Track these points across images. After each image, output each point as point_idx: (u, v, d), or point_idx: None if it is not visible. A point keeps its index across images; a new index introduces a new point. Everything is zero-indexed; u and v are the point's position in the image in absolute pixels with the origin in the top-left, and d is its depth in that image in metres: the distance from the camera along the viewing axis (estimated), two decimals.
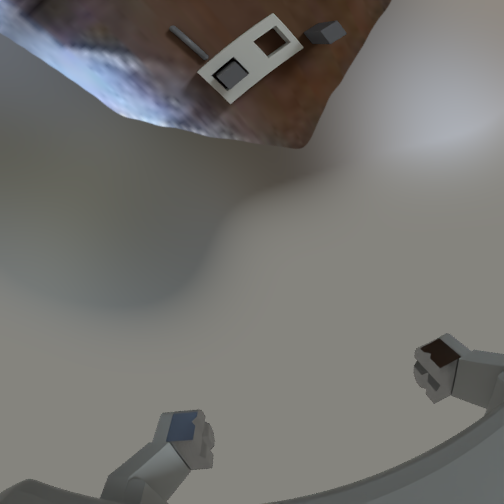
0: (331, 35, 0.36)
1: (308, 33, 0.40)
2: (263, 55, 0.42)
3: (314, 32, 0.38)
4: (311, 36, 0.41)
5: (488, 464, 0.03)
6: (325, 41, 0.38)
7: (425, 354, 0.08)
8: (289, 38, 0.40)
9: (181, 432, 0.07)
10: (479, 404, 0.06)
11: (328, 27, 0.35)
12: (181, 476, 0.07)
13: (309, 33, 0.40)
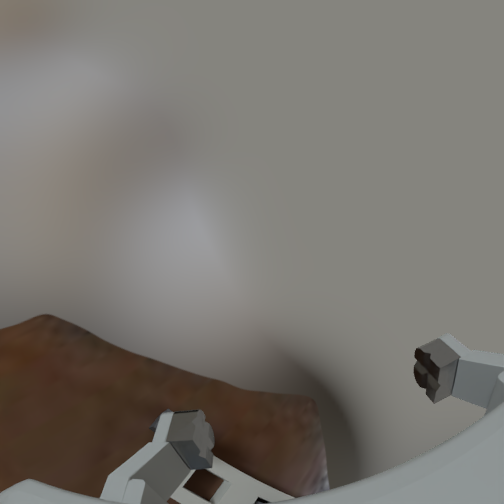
0: None
1: None
2: (230, 490, 0.28)
3: None
4: None
5: (488, 464, 0.03)
6: None
7: (425, 354, 0.08)
8: None
9: (181, 432, 0.07)
10: (479, 404, 0.06)
11: None
12: (181, 476, 0.07)
13: None
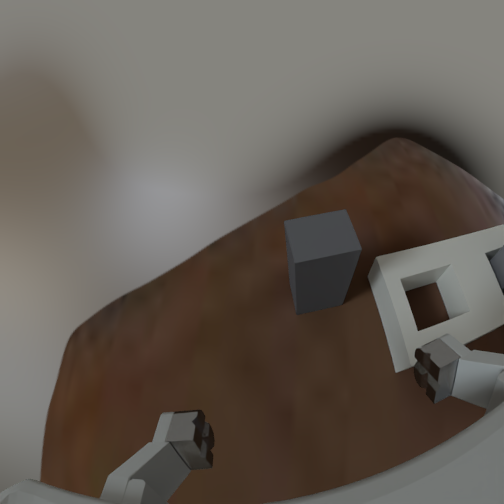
0: (333, 228, 0.17)
1: None
2: (459, 273, 0.19)
3: None
4: None
5: (488, 464, 0.03)
6: None
7: (425, 354, 0.08)
8: (400, 288, 0.19)
9: (181, 432, 0.07)
10: (479, 404, 0.06)
11: (332, 251, 0.16)
12: (181, 476, 0.07)
13: None
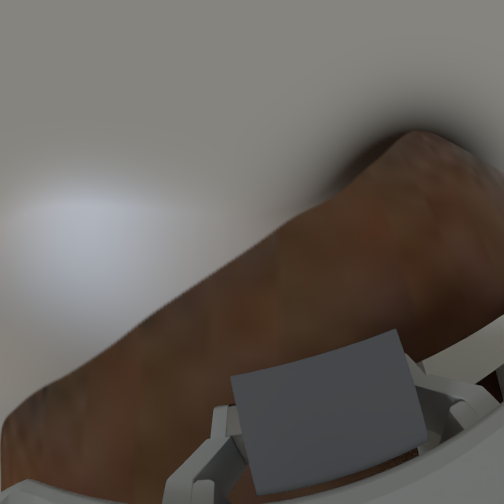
0: (364, 394, 0.05)
1: None
2: None
3: None
4: None
5: (488, 464, 0.03)
6: None
7: None
8: None
9: None
10: (435, 431, 0.06)
11: (358, 461, 0.04)
12: (238, 472, 0.07)
13: None
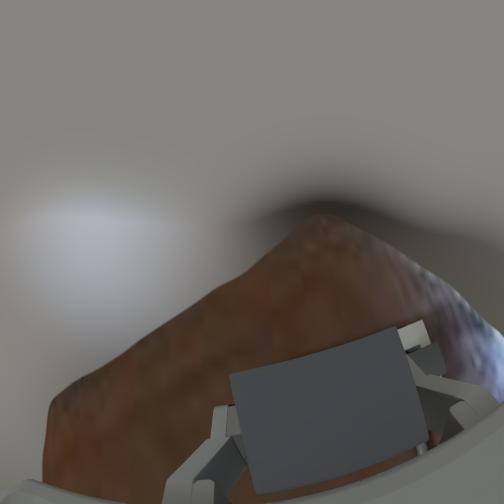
0: (364, 391, 0.05)
1: None
2: None
3: None
4: None
5: (488, 464, 0.03)
6: None
7: None
8: None
9: None
10: (436, 431, 0.06)
11: (357, 460, 0.04)
12: (238, 472, 0.07)
13: None
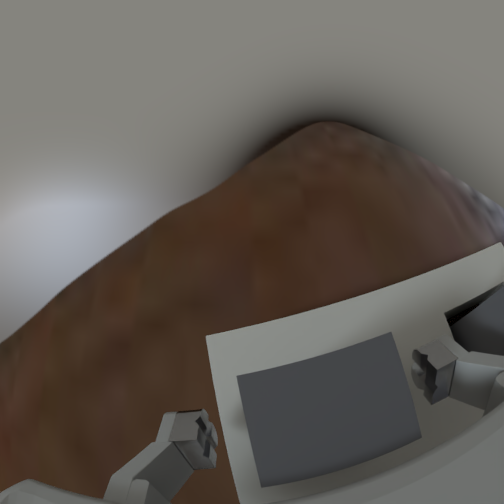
0: (361, 392, 0.06)
1: None
2: None
3: None
4: None
5: (488, 464, 0.03)
6: None
7: (422, 355, 0.08)
8: (240, 397, 0.11)
9: (184, 432, 0.07)
10: (477, 406, 0.06)
11: (355, 455, 0.05)
12: (184, 476, 0.07)
13: None
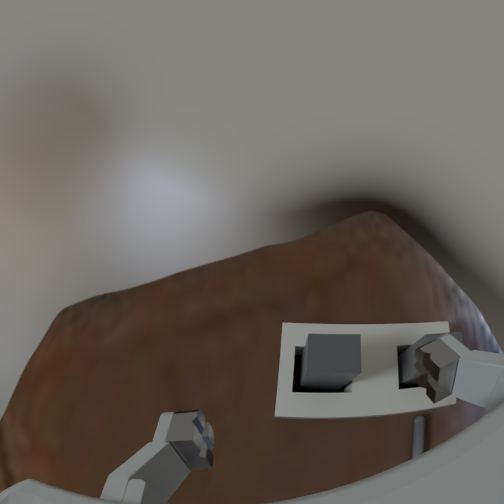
0: (345, 349, 0.19)
1: None
2: None
3: None
4: None
5: (488, 464, 0.03)
6: None
7: (425, 354, 0.08)
8: (291, 354, 0.25)
9: (181, 432, 0.07)
10: (479, 404, 0.06)
11: (338, 369, 0.18)
12: (181, 476, 0.07)
13: None
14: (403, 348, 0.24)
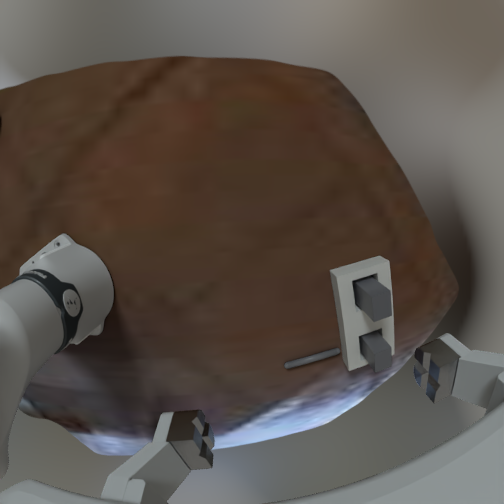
0: (384, 310, 0.36)
1: None
2: None
3: None
4: None
5: (488, 464, 0.03)
6: None
7: (425, 354, 0.08)
8: (372, 272, 0.40)
9: (181, 432, 0.07)
10: (479, 404, 0.06)
11: (374, 311, 0.36)
12: (181, 476, 0.07)
13: None
14: (379, 330, 0.44)
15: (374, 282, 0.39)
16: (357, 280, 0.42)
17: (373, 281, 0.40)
